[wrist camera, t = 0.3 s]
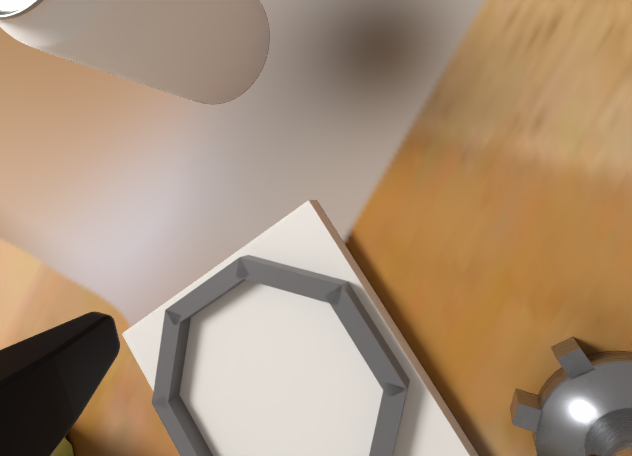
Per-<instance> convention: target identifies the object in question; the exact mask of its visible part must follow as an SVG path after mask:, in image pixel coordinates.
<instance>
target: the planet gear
mask: <svg viewBox="0 0 632 456" xmlns="http://www.w3.org/2000/svg"><path fill="white" fill-rule="evenodd" d="M551 348H552V350H553V352H554V354H555V356H556V358H557V360H558V361H559V363H560V364H561V366H562V368H560V369H559V370H557V371H556V372H555V373H554V374H553V375H552V376H551V377H550V378H549V379H548V380H547V381H546V383H545V384H544V385H543V387H542V388H541V390H540V392H539V394H538V396H537V395H534V394H530V393H527V392H524V391H521V390H517V389H515V393H514V396H513V400H512V404H511V408H510V411H511V417H512V423H513V425H515V426H518V427H521V428H524V429H527V430H530V431H532V432H533V438H534V442H535V446H536V451H537V455H538V456H587V455H589V454H596V455H600V456H632V352H626V351H607V352H600V353H594V354H590V355H585V354H584V352H583V351H582V349H581V348H580V347H579V345H578V344H577V342H576V341H575V339H574V338H573V337H572V338H569V339H567V340H565V341H563V342H561V343H559V344H557V345H555V346H553V347H551Z"/></svg>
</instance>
